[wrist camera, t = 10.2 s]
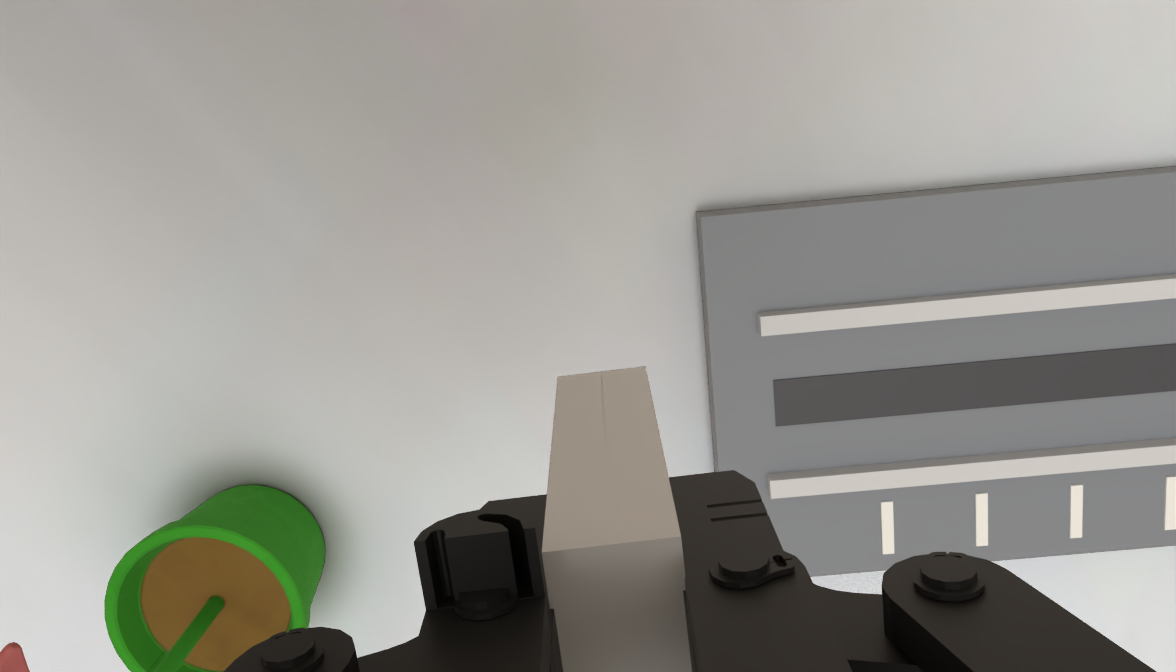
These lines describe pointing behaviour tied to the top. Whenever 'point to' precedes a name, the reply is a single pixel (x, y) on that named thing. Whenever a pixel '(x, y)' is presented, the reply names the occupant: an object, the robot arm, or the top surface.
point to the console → (950, 368)
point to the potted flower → (211, 584)
